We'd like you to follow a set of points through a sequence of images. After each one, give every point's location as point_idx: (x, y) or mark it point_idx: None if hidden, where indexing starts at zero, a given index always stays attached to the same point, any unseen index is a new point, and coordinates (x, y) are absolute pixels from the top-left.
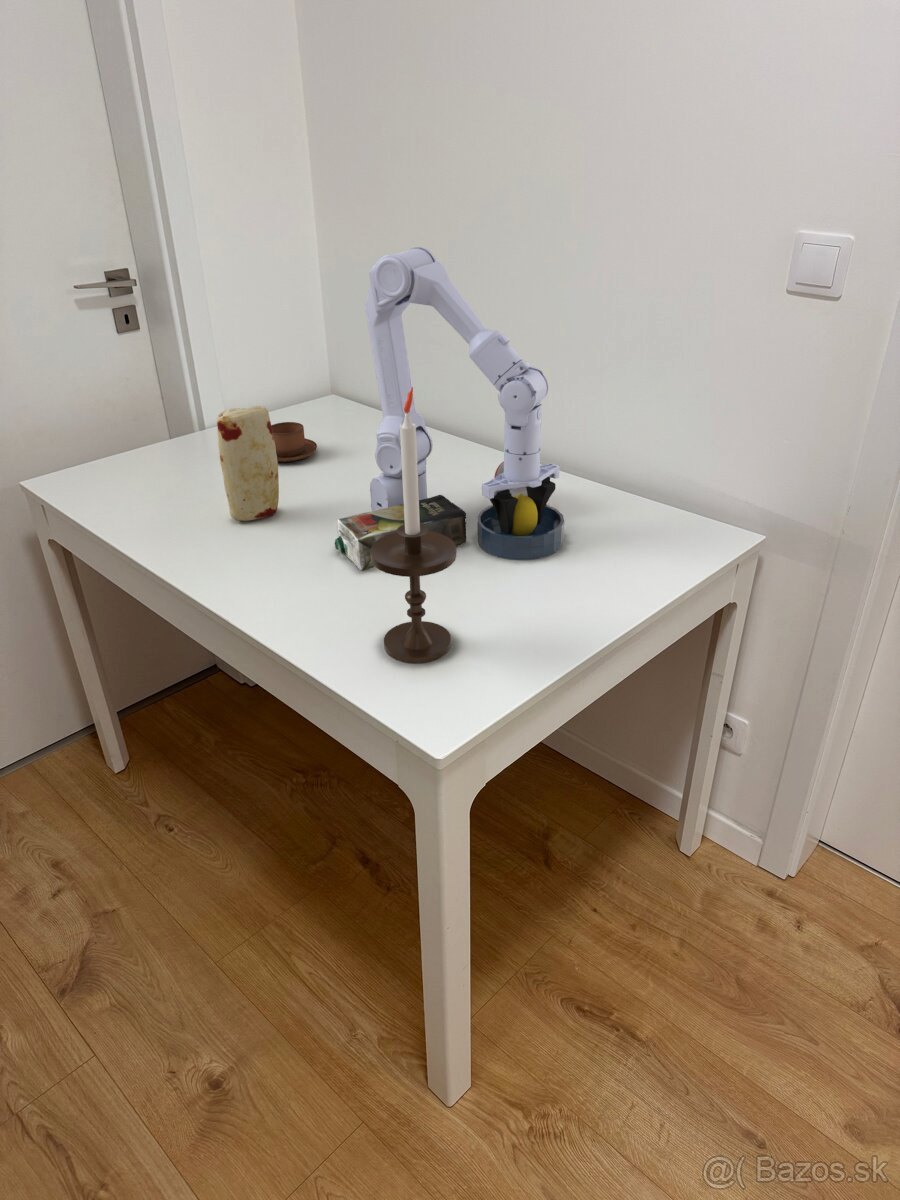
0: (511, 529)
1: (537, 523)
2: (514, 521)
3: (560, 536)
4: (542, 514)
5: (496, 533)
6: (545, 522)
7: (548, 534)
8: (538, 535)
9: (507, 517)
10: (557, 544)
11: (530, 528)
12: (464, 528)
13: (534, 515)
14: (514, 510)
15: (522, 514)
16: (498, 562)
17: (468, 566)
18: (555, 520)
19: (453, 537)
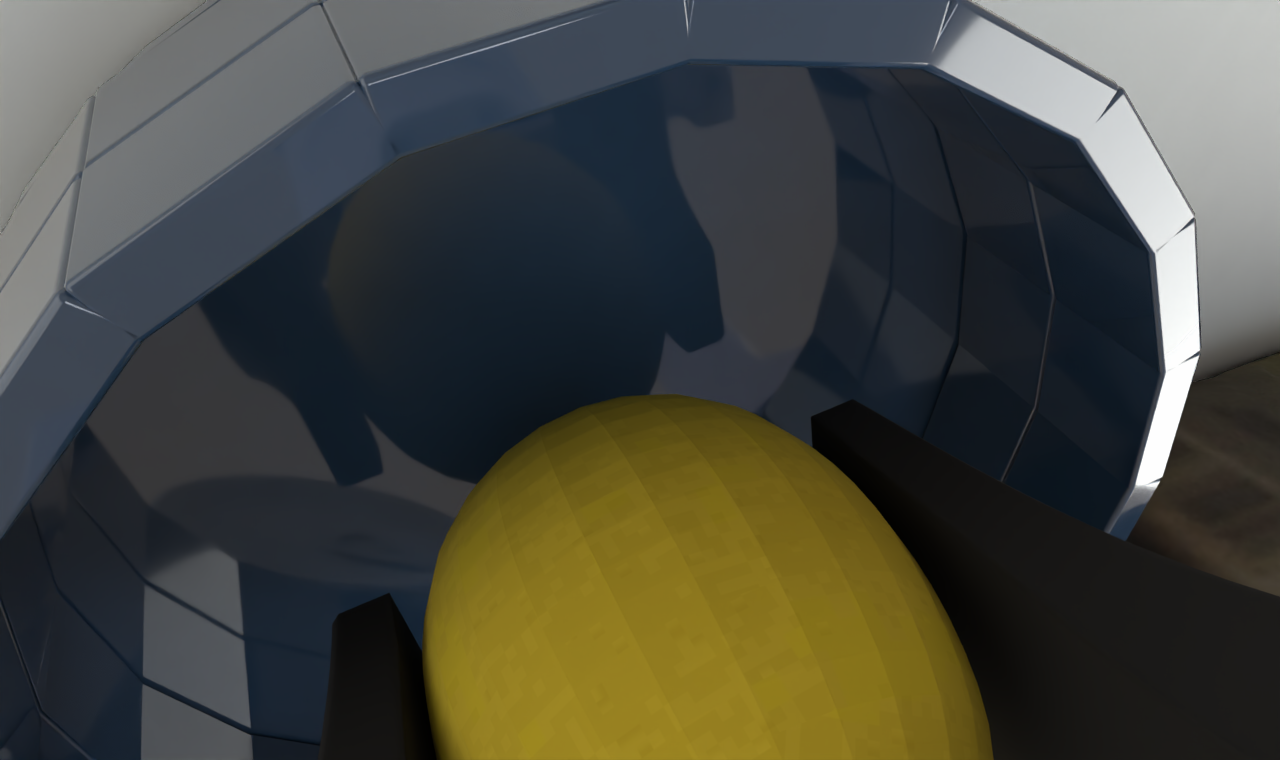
0: (867, 439)
1: (387, 607)
2: (889, 532)
3: (102, 159)
4: (327, 742)
5: (1186, 305)
6: (146, 724)
7: (546, 8)
8: (784, 19)
9: (1113, 539)
10: (191, 51)
11: (620, 436)
12: (1138, 538)
13: (614, 633)
14: (1101, 652)
15: (874, 616)
16: (1036, 9)
17: (1269, 42)
18: (28, 702)
19: (1192, 455)
